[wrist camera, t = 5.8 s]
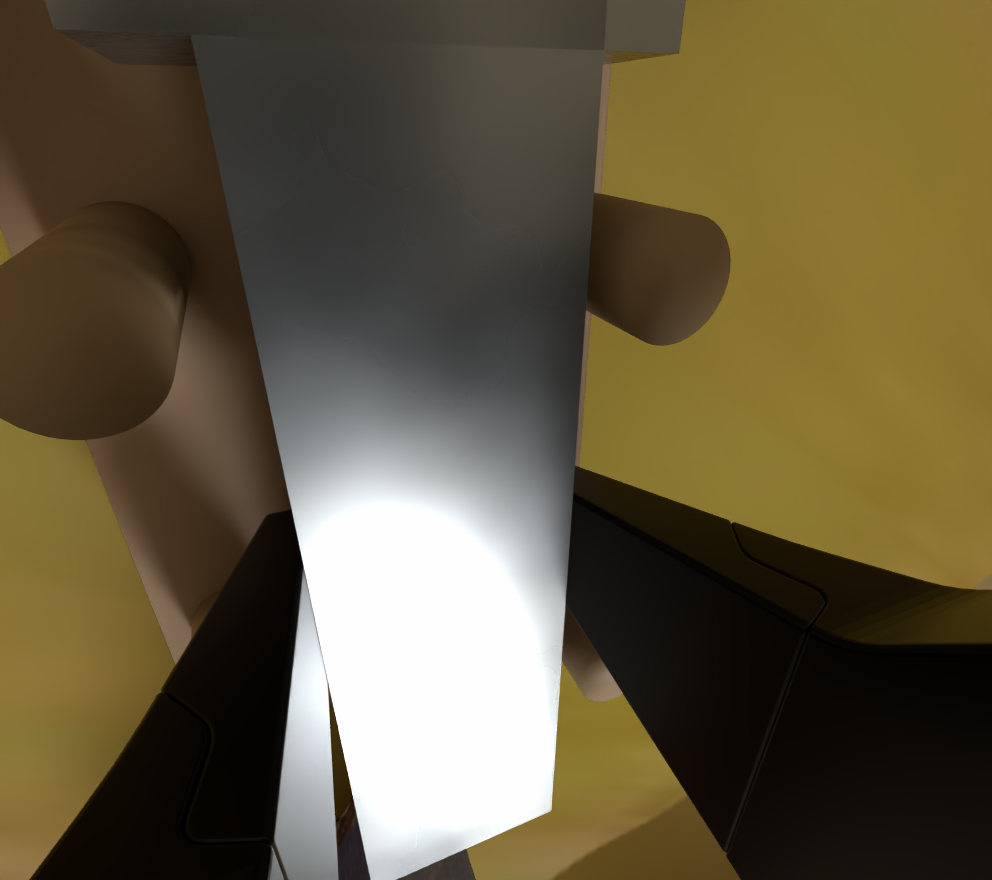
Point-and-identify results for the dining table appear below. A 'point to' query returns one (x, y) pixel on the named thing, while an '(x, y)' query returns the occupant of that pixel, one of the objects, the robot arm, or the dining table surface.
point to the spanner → (416, 353)
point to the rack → (210, 309)
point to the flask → (444, 876)
